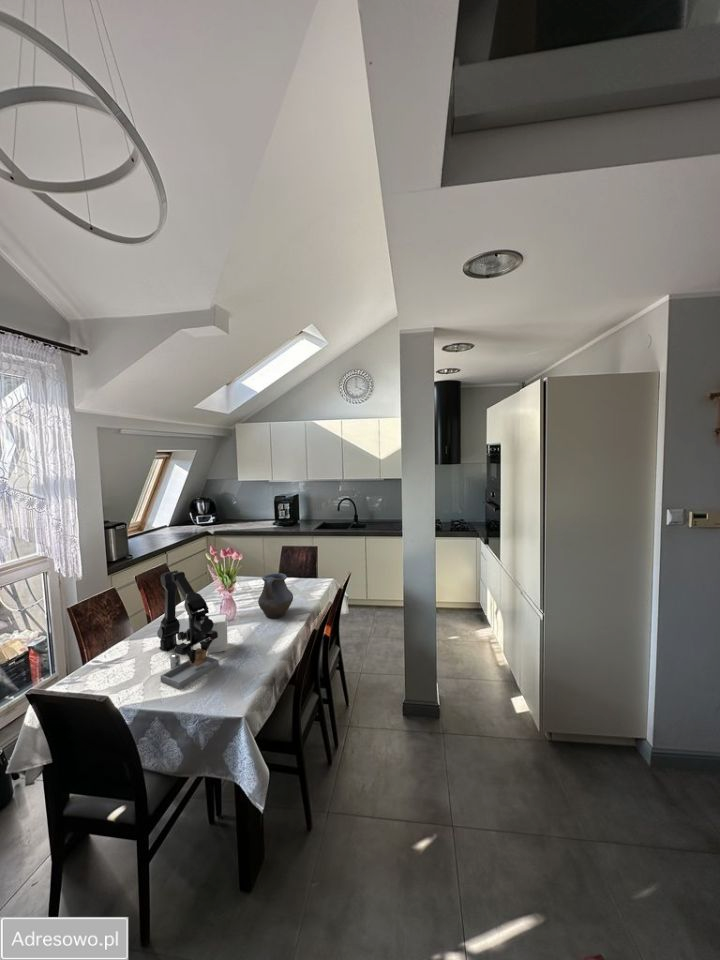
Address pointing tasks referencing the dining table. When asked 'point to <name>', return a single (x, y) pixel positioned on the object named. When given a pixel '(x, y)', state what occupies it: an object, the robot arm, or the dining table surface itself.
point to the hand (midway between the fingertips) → (197, 660)
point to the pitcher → (275, 596)
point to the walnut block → (199, 657)
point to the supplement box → (219, 634)
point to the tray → (188, 673)
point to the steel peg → (175, 660)
